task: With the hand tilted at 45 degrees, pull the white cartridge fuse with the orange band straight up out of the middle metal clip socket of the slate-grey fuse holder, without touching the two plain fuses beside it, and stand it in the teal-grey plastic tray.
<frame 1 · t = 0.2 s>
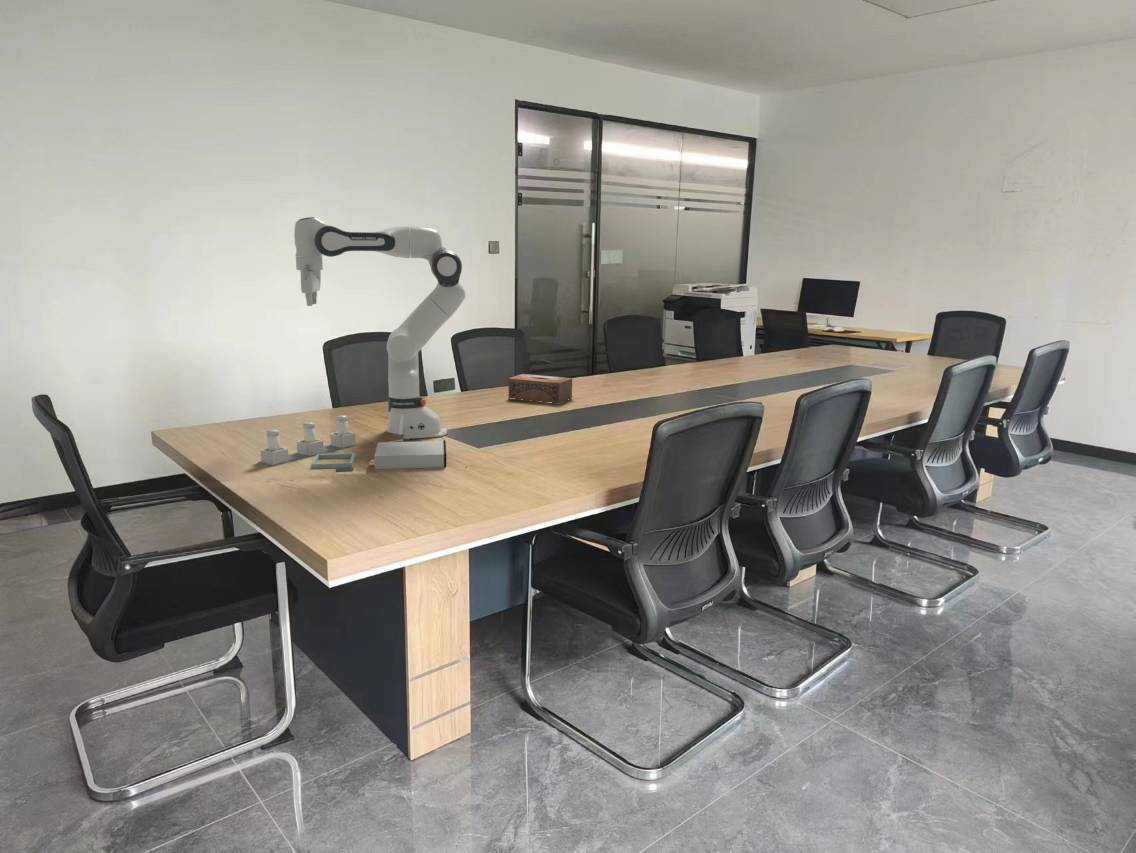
hand: (311, 305, 276), 48 cm above the table, fingers open, 8 cm apart
plain fuse 1: (274, 461, 247), point 1 cm above the table, touching fuse holder
plain fuse 2: (343, 444, 269), point 1 cm above the table, touching fuse holder
disc drive: (411, 462, 257), on the table
fuse holder: (310, 457, 258), on the table
tray: (334, 466, 248), on the table
tissue box cover: (540, 399, 362), on the table
marked fuse: (310, 452, 258), point 1 cm above the table, touching fuse holder
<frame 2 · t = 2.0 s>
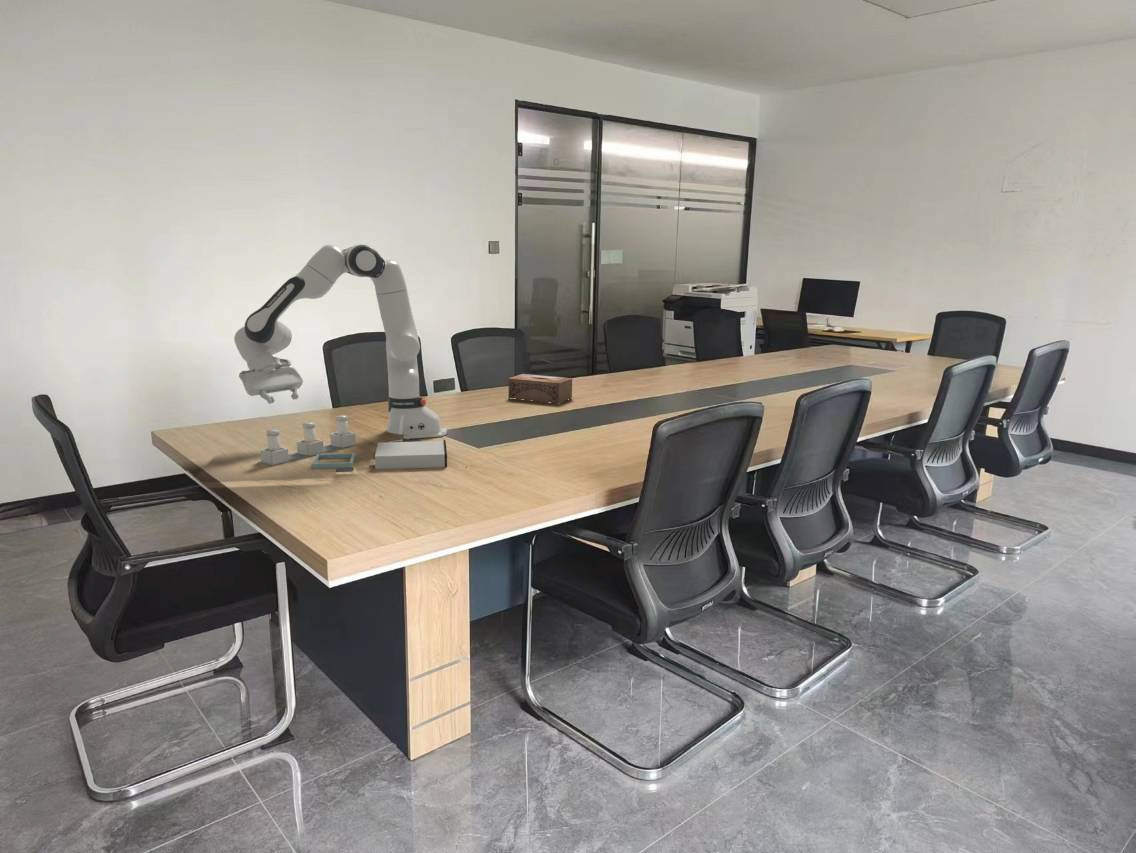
hand: (284, 400, 261), 18 cm above the table, fingers open, 8 cm apart
nothing on the table moved.
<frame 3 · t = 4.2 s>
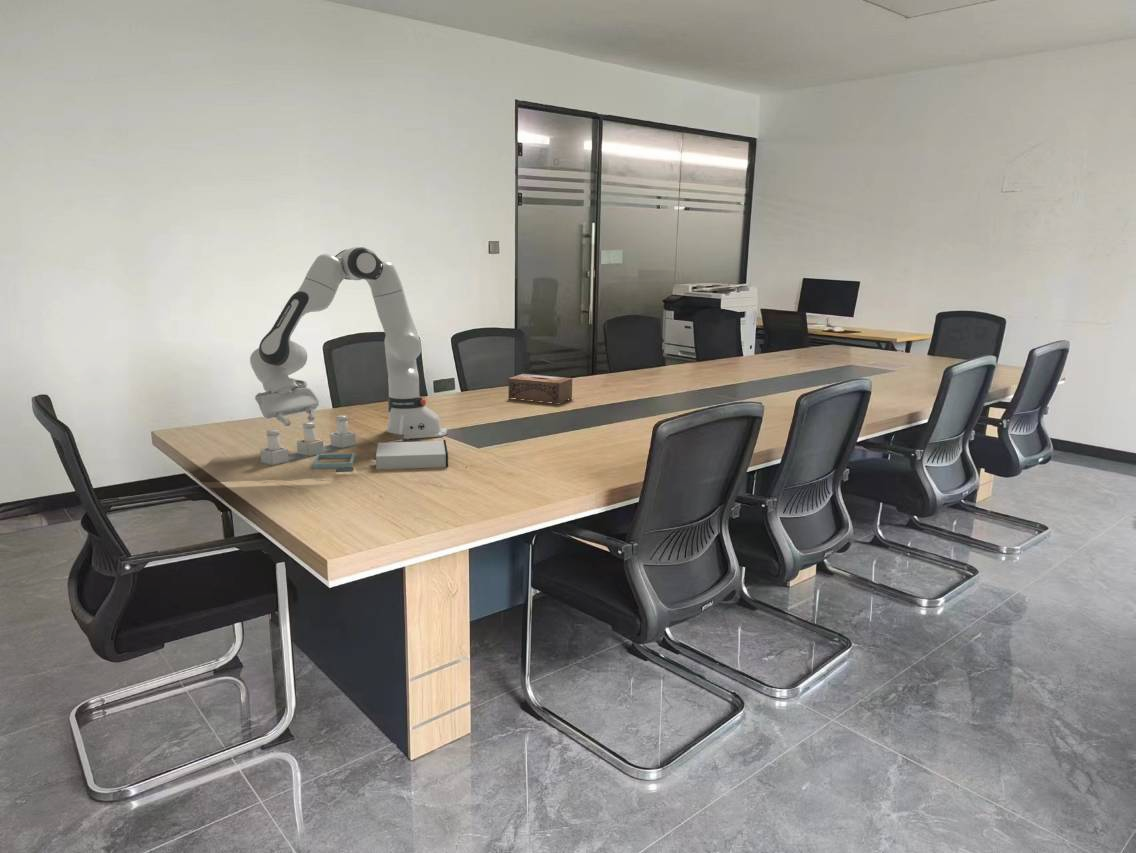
hand: (300, 422, 258), 11 cm above the table, fingers open, 8 cm apart
nothing on the table moved.
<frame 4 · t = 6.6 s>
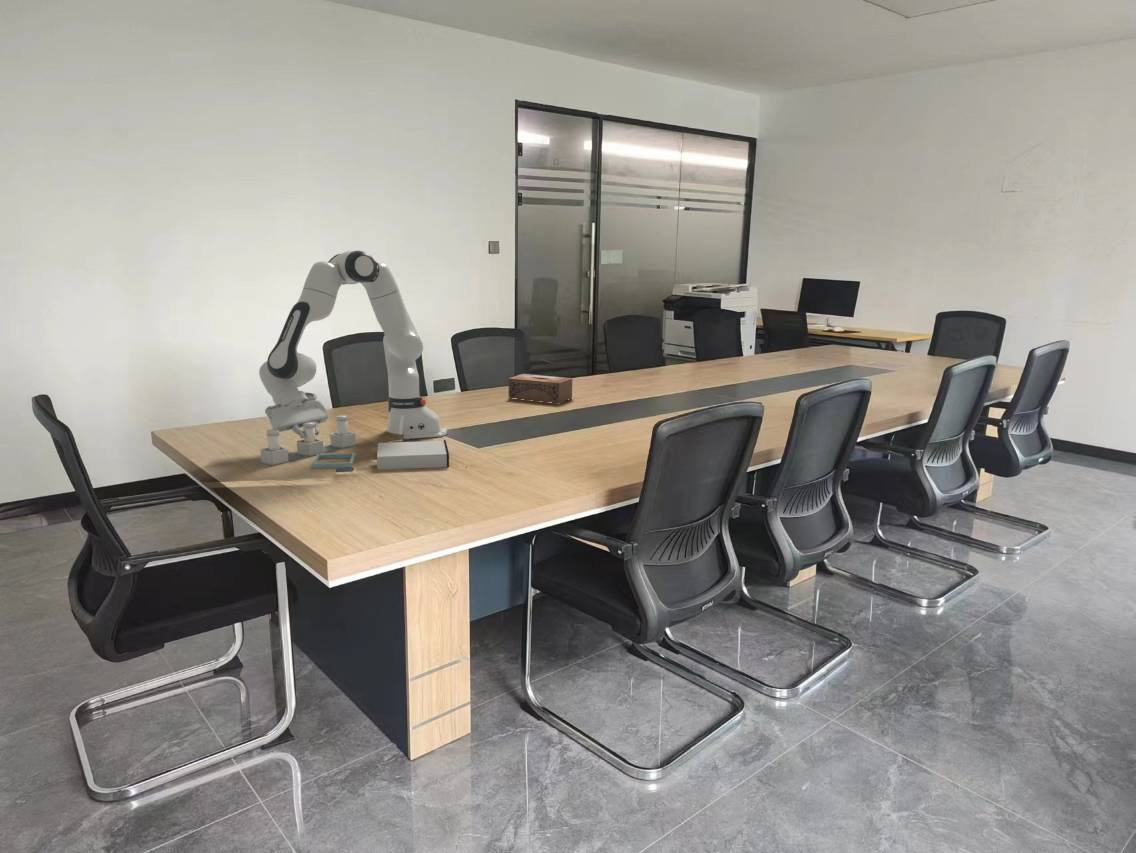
hand: (310, 435, 256), 7 cm above the table, fingers closed on marked fuse, 4 cm apart
marked fuse: (310, 452, 258), point 1 cm above the table, touching fuse holder, gripper
everything else where it was.
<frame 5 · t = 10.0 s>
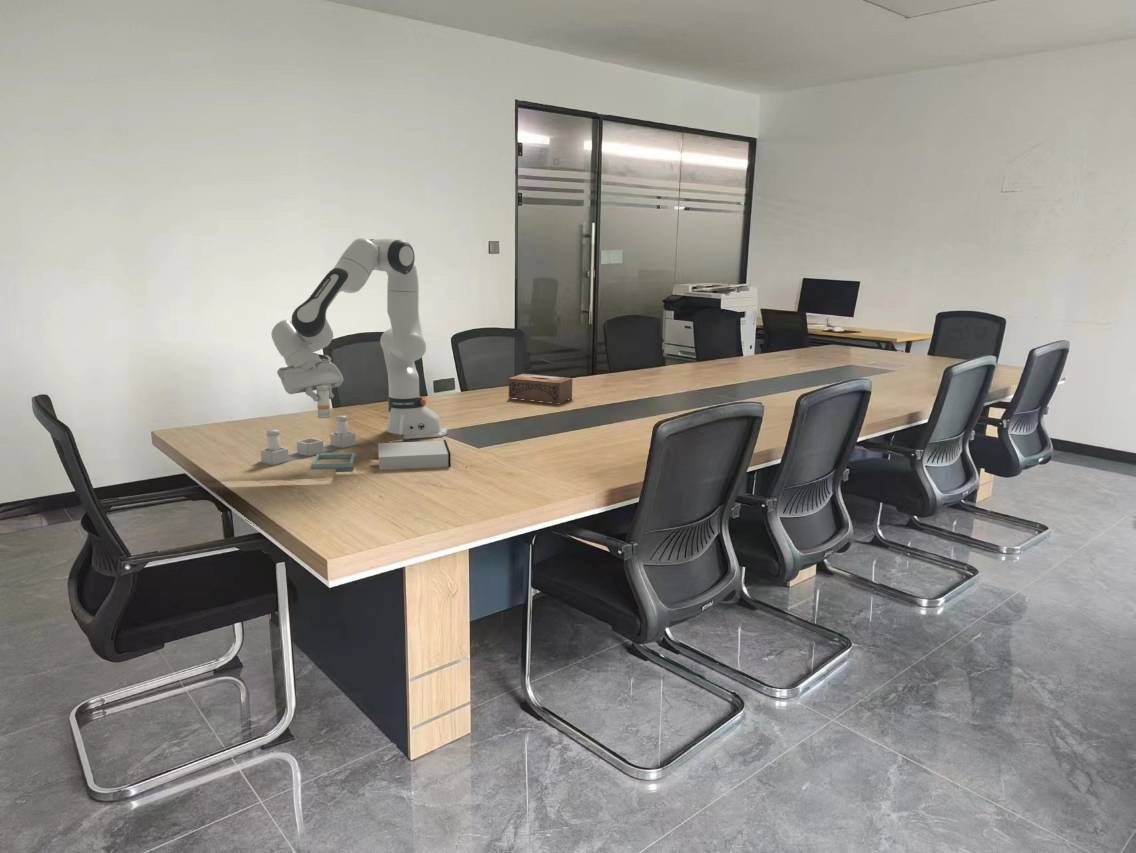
hand: (324, 399, 245), 21 cm above the table, fingers closed on marked fuse, 4 cm apart
marked fuse: (324, 416, 247), point 16 cm above the table, touching gripper
everything else where it was.
when the fingers open (8 cm above the table, at t = 13.7 s): marked fuse drops 1 cm, resting on tray.
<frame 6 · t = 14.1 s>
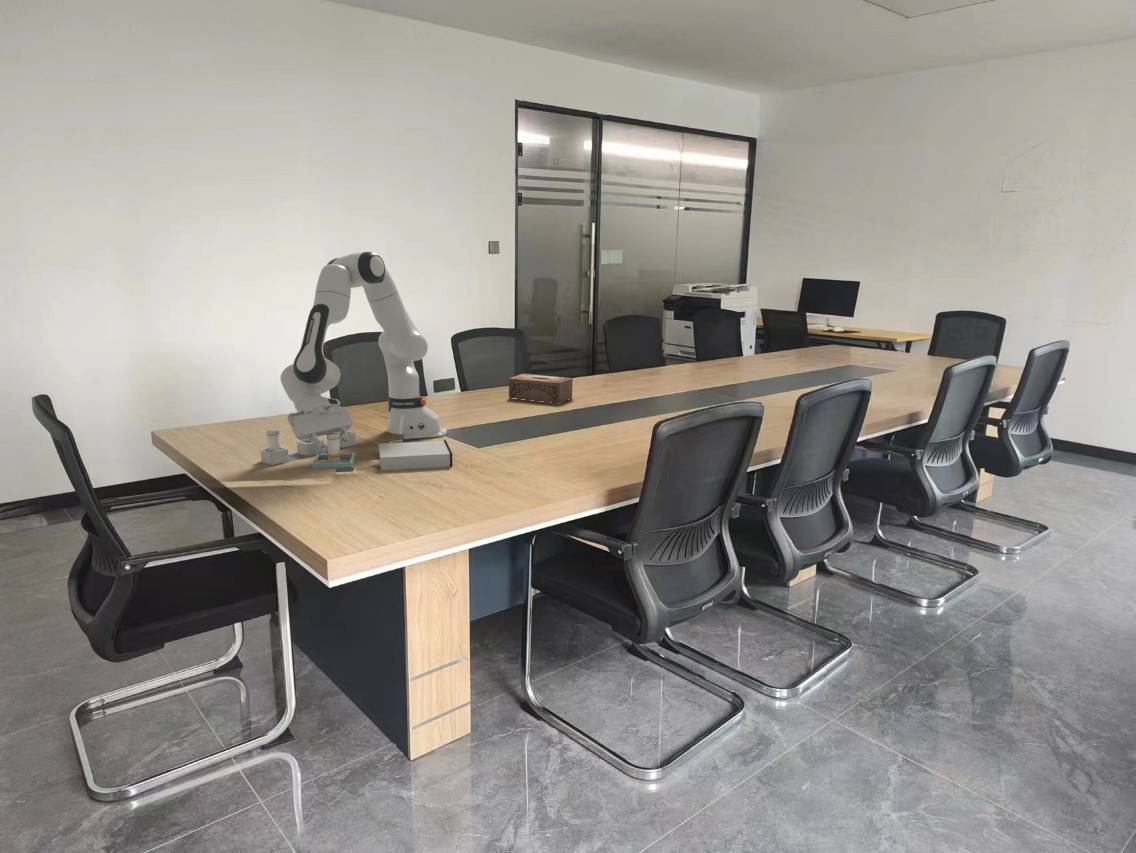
hand: (334, 443, 245), 8 cm above the table, fingers open, 8 cm apart
marked fuse: (334, 465, 247), point 1 cm above the table, touching tray
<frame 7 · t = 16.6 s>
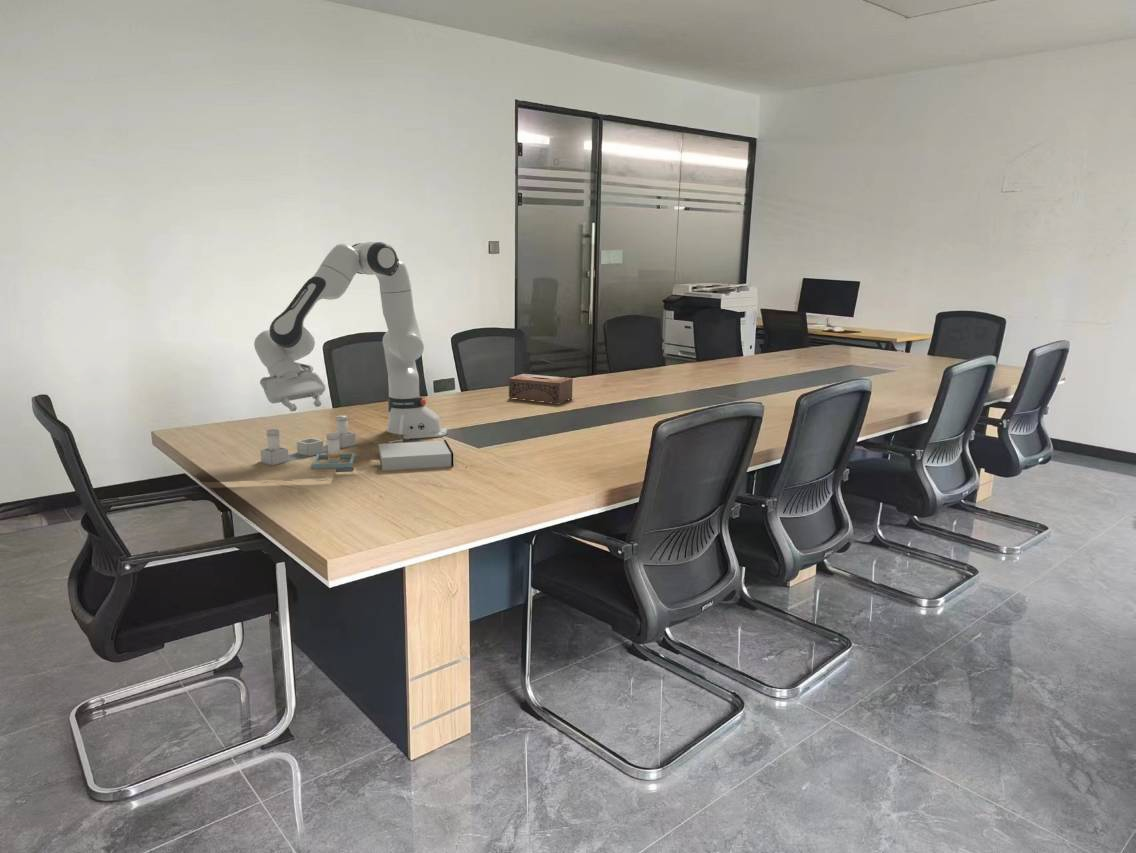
hand: (306, 407, 250), 18 cm above the table, fingers open, 8 cm apart
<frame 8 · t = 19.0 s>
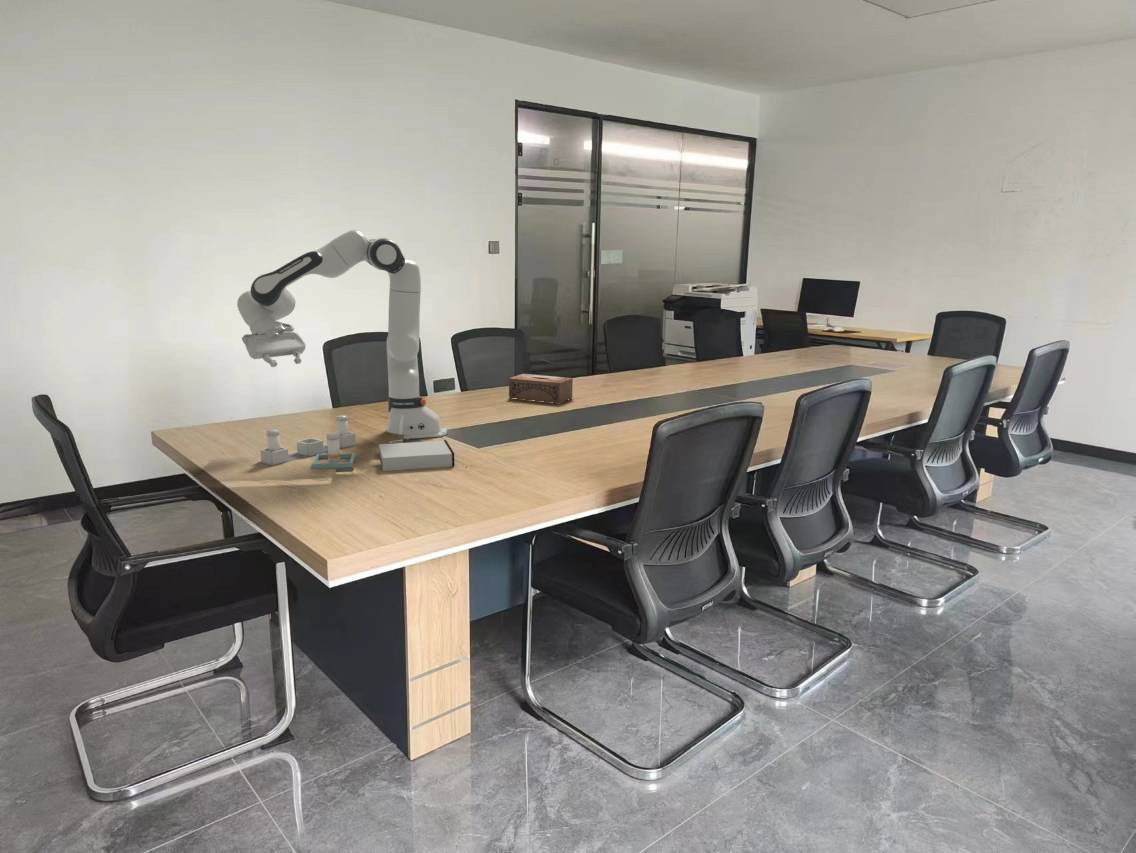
hand: (287, 364, 261), 29 cm above the table, fingers open, 8 cm apart
at the end: marked fuse inside the target area on the tray (0.0 cm from its centre), point 0.6 cm above the tray's base; plain fuse 2 moved 0.0 cm from its start; plain fuse 1 moved 0.0 cm from its start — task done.
